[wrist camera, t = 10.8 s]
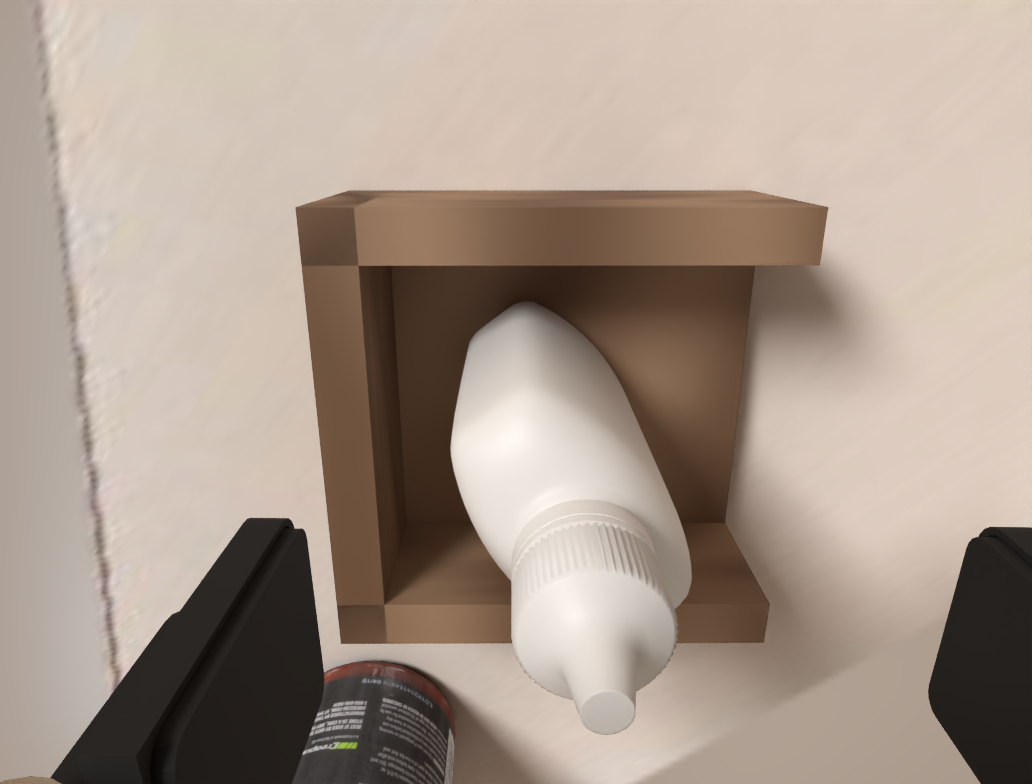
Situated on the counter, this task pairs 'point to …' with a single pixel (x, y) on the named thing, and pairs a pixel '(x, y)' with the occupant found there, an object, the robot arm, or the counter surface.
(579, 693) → the eye dropper bottle
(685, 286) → the open wooden box
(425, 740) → the supplement bottle
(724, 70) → the counter surface
